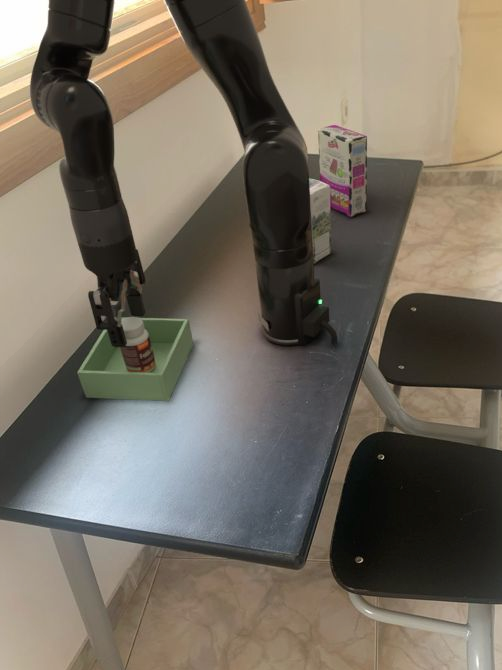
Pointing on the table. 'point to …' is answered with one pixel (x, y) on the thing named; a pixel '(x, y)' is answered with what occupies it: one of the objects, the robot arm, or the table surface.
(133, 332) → the pill bottle
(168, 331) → the basket
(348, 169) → the candy bar box
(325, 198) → the syrup box
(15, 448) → the table surface
